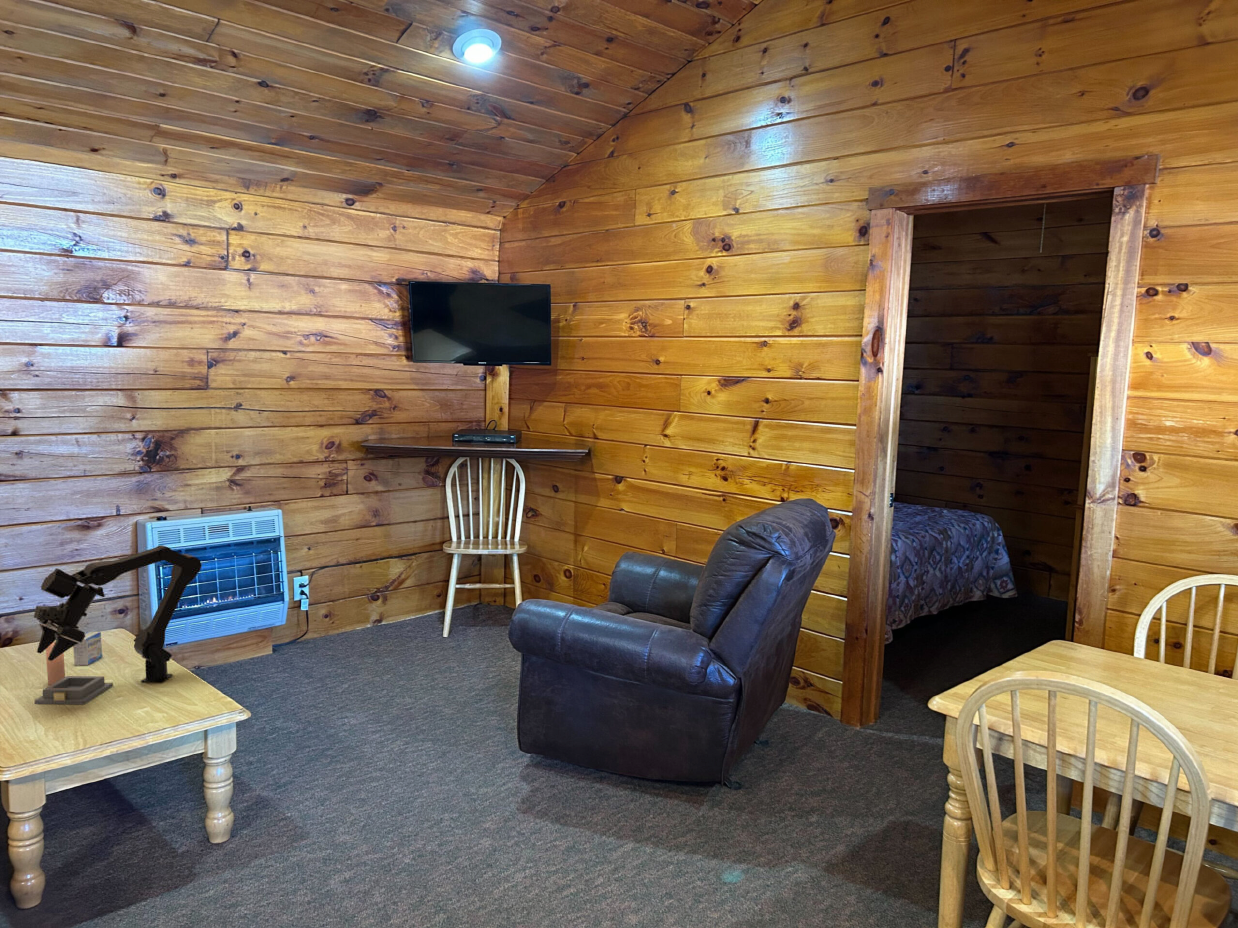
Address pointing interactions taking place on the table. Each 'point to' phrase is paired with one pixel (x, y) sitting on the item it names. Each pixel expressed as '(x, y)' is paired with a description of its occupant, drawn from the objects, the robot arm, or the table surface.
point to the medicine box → (88, 649)
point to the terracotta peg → (55, 667)
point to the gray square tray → (74, 690)
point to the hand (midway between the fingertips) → (44, 656)
